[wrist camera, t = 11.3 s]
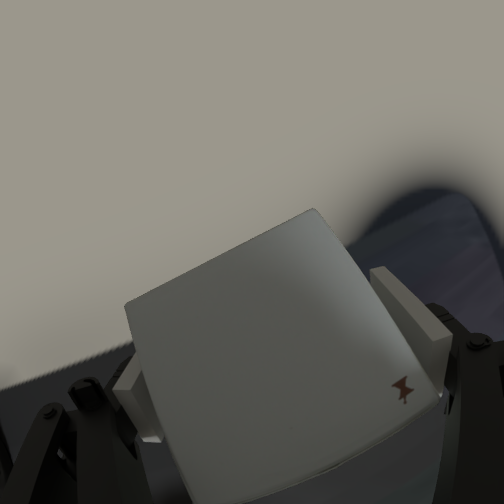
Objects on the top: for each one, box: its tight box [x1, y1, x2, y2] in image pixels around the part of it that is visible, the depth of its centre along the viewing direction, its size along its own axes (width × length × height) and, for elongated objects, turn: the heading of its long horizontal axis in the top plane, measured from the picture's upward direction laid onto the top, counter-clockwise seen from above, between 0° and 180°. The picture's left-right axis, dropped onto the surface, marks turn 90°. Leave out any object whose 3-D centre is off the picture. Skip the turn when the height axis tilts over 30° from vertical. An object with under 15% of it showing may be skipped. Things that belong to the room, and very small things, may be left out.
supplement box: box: [124, 208, 441, 504], centre depth 13 cm, size 7×7×13 cm
